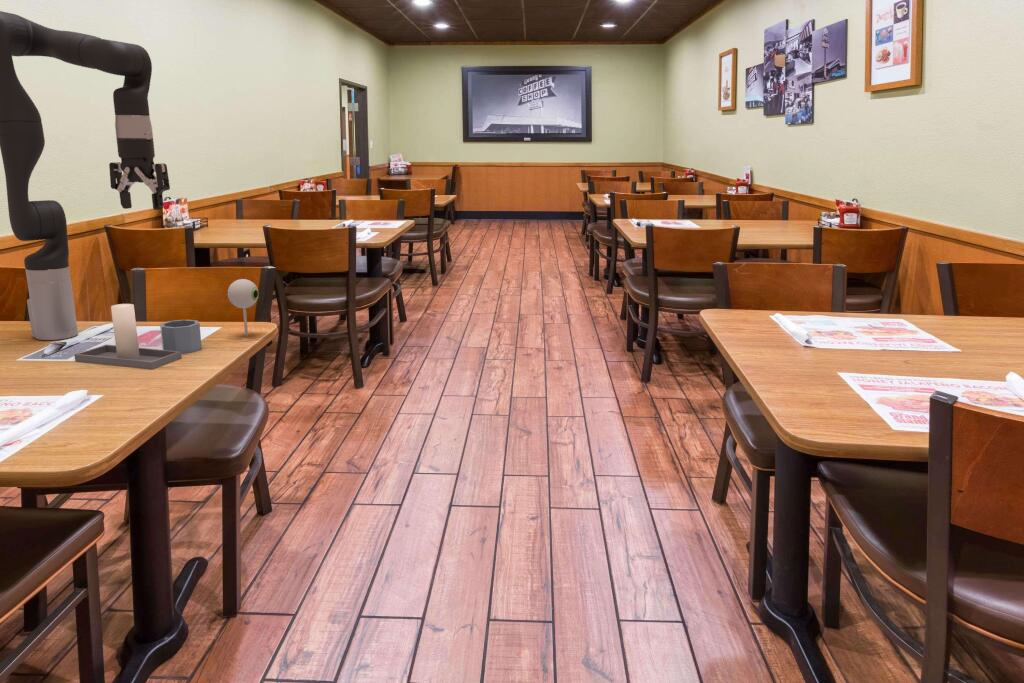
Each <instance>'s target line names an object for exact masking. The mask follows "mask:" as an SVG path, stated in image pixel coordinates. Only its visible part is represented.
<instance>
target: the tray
mask: <svg viewBox="0 0 1024 683" xmlns="http://www.w3.org/2000/svg"><path fill="white" fill-rule="evenodd" d="M139 354H140V359H139V360H134V359H124V358H117V352H116V344H104V345H100V346H98V347H94V348H91V349H88V350H84V351H82V352H78V353H75V354H74V361H75V362H79V363H87V364H96V365H104V366H105V365H109V366H119V367H128V368H133V369H135V368H136V369H137V368H138V369H144V370H155V369H158V368H160V367H163V366H165V365H169V364H170V363H173V362H175V361H178V360H181V359H182V354H181V352H180V351H170V350H163V349H158V348H148V347H139Z"/></svg>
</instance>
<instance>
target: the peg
mask: <svg viewBox="0 0 1024 683" xmlns="http://www.w3.org/2000/svg"><path fill="white" fill-rule="evenodd" d="M110 309H111V310H110V311H111V318H112V319H111V320H112V326H113V335H114V336H113V337H114V342H115V343H114V345H116V352H117V358H124V359H134V360H139V359H140V354H139V348H140V347H139V338H138V337H139V336H138V331H137V321H136V314H135V305H134V304H132V303H119V304H113V305H110Z"/></svg>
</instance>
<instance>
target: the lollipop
mask: <svg viewBox="0 0 1024 683" xmlns="http://www.w3.org/2000/svg"><path fill="white" fill-rule="evenodd" d="M259 295H260V294H259V289H258V287H257V285H256V284H255V283H254V282H253V281H251V280H249V279H246V278H240V279H236V280H235V281H233V282H232V283H231V284H230V285H229V286H228V288H227V297H228V300H229V302H230V303H231V304H232V305H233V306H235V307H236V308H238V309H242V313H243V316H242V317H243V325H244V327H243V328H244V329H243V330H244V336H246V337H247V336H249V332H248V320H247V309H248V308H251V307H252V306H254V305H255V304H256V302H257V301H258V300H259Z"/></svg>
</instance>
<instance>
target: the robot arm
mask: <svg viewBox="0 0 1024 683" xmlns="http://www.w3.org/2000/svg"><path fill="white" fill-rule="evenodd" d="M13 57H46V58H53V59H56V60H60V61H62V62H64V63H67V64H71V65H75V66H78V67H82V68H88V69H93V70H97V71H100V72H104V73H107V74H111V75H115V76H120V77H121V76H122V77H124V79H123V85H122V86H121V87H118V88H116V89H114V90H113V95H112V98H113V100H112V101H113V106H114V107H113V109H114V110H113V111H114V116H115V119H114V120H115V121H114V129H115V136H116V146H117V153H118V158H120V160H121V161H119V162H110V163H109V165H108V166H109V178H110V180H109V181H110V188H111V190H116V191H117V192H118V193H119V199H120V206H121V207H122V209H125V210H127V209H128V210H129V209H132V206H133V205H132V198H131V191H130V190H131V188H132V186H133V185H134V184H135V183H140V184H141V183H143V184H144V185H145V186H147V187H148V188H149V190H150V191H151V200H152V202H151V203H152V209H153V210H154V211H160V210H161V211H162V209H163V207H164V199H163V193H164V192H165V191H170V189H171V186H170V179H169V173H168V167H167V164H166V163H164V162H163V163H155V162H154V158H155V156H156V153H155V152H156V151H155V144H154V134H153V126H152V121H151V116H150V107H149V106H150V104H149V98H148V97H149V93H150V92H149V91H150V86H151V79H152V73H153V72H152V70H153V63H152V60H151V57H150V54H149V52H148V51H147V50H146V49H145V47H143V46H141V45H139V44H135V43H130V42H129V43H128V42H124V41H118V40H111V39H105V38H101V37H99V36H95V35H91V34H88V33H87V34H86V33H81V32H76V31H70V30H59V29H54V28H49V27H46V26H44V25H42V24H39V23H37V22H35V21H32V20H29V19H27V18H26V17H23V16H21V15H18V14H16V13H11V12H8V11H3V10H0V154H1V157H2V164H3V170H4V175H5V176H4V177H5V185H6V196H7V208H8V217H9V223H10V227H11V230H12V233H13V235H14V236H15V238H16V239H18V240H19V241H21V242H33V241H42V240H45V242H44V244H43V245H42V246H41V247H40V248H39V249H38V250H36V251H35V252H32V253H30V254H28V255H26V256H25V257H24V260H23V262H24V269H25V276H26V283H27V288H28V294H29V298H27V300H26V305H27V311H28V317H29V318H28V319H29V325H30V331H31V336H32V338H35V339H37V340H39V341H56V340H58V341H59V340H64V339H65V340H66V339H68V338H69V339H71V338H72V337H75V336H77V335H78V334H79V332H78V324H77V316H76V307H75V301H74V300H75V299H74V294H73V293H74V292H73V287H72V277H71V271H70V264H69V258H70V257H69V256H70V250H69V249H70V248H69V239H68V237H69V236H68V226H67V225H68V222H67V218H66V213H65V210H64V208H63V206H62V204H61V203H60V202H58V201H57V200H48V199H45V200H29V184H30V178H31V176H32V173H33V171H34V169H35V167H36V165H37V163H38V161H39V159H40V158H41V156H42V154H43V151H44V149H45V144H46V143H45V142H46V140H45V134H44V128H43V123H42V118H41V113H40V111H39V110H38V108H37V106H36V104H35V103H34V101H33V100H32V98H31V96H30V94H28V92H27V91H26V90H25V88H24V86H23V85H22V83H21V81H20V80H19V77H18V76H17V73H16V69H15V66H14V61H13Z"/></svg>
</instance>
